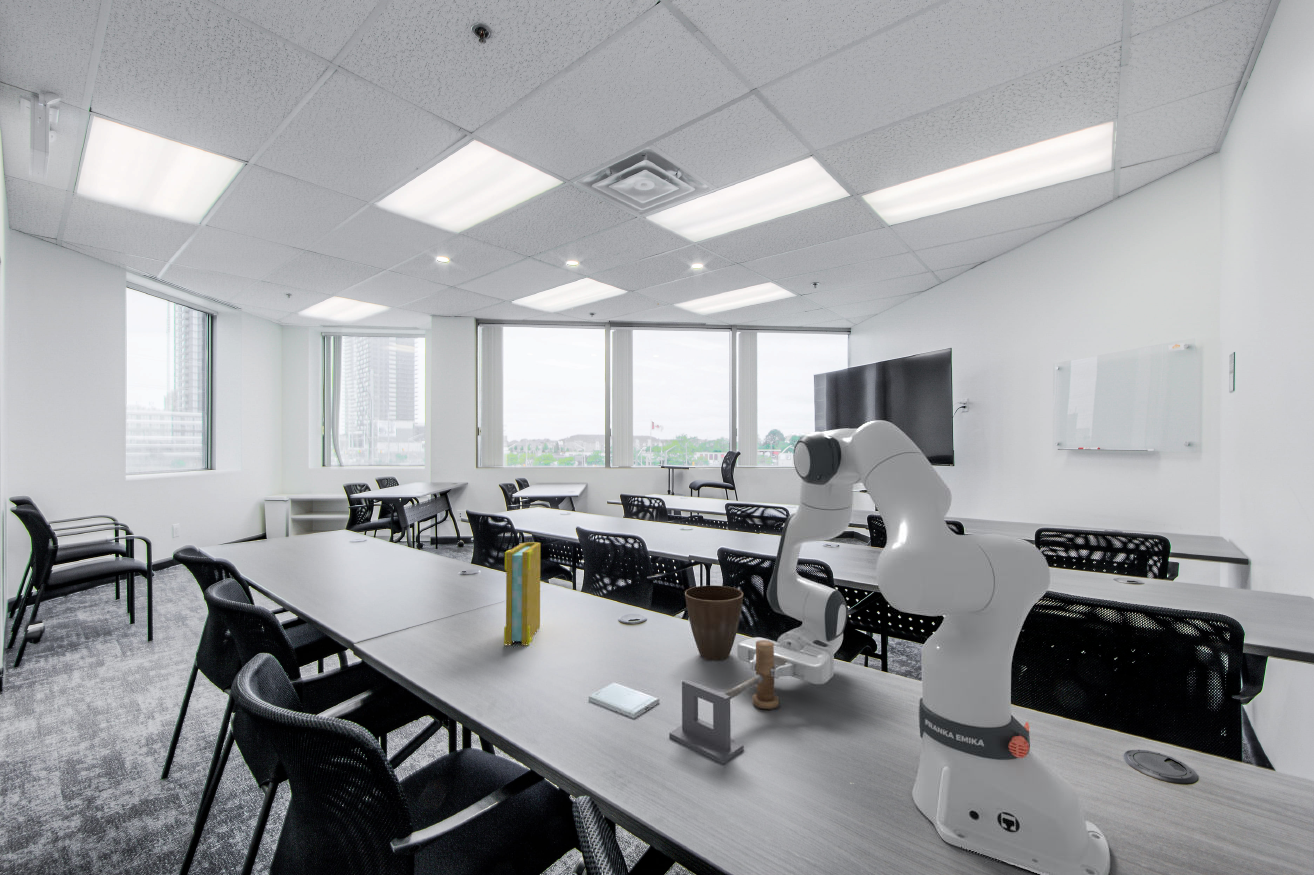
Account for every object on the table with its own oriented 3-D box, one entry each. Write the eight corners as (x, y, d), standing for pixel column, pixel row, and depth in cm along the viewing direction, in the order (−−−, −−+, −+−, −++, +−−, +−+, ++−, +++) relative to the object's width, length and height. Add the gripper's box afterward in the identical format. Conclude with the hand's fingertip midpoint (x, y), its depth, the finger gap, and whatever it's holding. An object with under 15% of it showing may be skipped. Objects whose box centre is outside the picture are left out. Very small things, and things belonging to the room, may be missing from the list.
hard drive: (588, 695, 108) (634, 712, 101) (614, 681, 115) (659, 697, 107) (588, 703, 108) (634, 721, 101) (614, 689, 115) (659, 705, 107)
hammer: (783, 702, 106) (782, 643, 106) (734, 735, 94) (733, 667, 94) (761, 694, 110) (760, 636, 110) (711, 724, 97) (710, 660, 98)
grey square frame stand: (743, 749, 90) (743, 693, 90) (722, 764, 85) (722, 705, 86) (690, 724, 98) (690, 673, 98) (669, 737, 94) (669, 683, 94)
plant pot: (738, 670, 123) (737, 602, 124) (678, 662, 128) (677, 597, 128) (748, 648, 137) (747, 587, 138) (693, 642, 142) (693, 583, 143)
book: (528, 645, 140) (529, 552, 141) (504, 645, 140) (504, 552, 141) (543, 625, 157) (543, 542, 158) (521, 625, 157) (521, 542, 158)
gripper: (756, 626, 123) (721, 641, 113) (840, 648, 108) (807, 668, 99) (757, 653, 122) (721, 671, 113) (840, 679, 108) (808, 701, 98)
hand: (762, 670), depth 105 cm, fingers closed on hammer, 4 cm apart
